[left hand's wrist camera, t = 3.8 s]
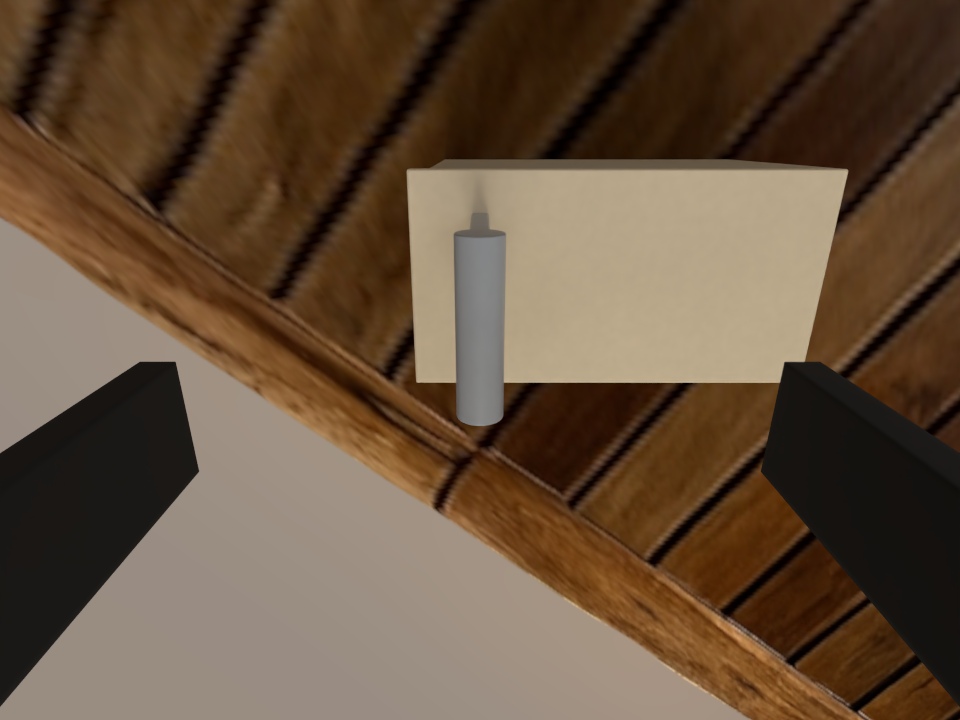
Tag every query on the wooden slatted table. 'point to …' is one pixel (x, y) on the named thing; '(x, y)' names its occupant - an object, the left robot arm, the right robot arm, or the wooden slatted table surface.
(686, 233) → the lid
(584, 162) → the chest
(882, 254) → the wooden slatted table surface
